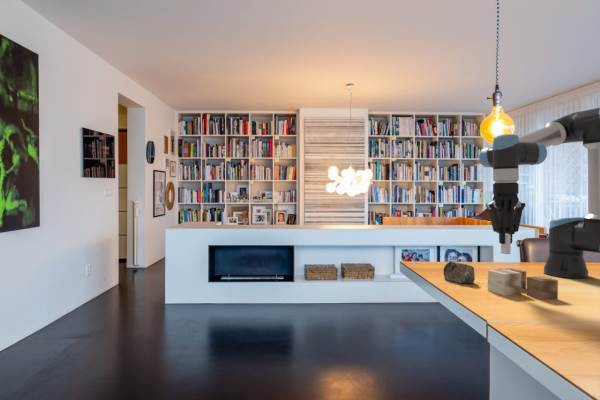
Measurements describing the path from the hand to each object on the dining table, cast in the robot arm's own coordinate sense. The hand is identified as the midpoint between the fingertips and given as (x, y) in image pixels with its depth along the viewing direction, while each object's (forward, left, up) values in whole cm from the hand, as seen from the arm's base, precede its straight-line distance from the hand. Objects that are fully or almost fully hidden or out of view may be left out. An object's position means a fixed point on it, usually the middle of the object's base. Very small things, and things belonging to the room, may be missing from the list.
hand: (505, 253), depth 133 cm
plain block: (0, 0, -13) cm, 13 cm away
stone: (+6, -18, -13) cm, 23 cm away
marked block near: (-8, -7, -13) cm, 16 cm away
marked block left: (-8, +7, -13) cm, 17 cm away
